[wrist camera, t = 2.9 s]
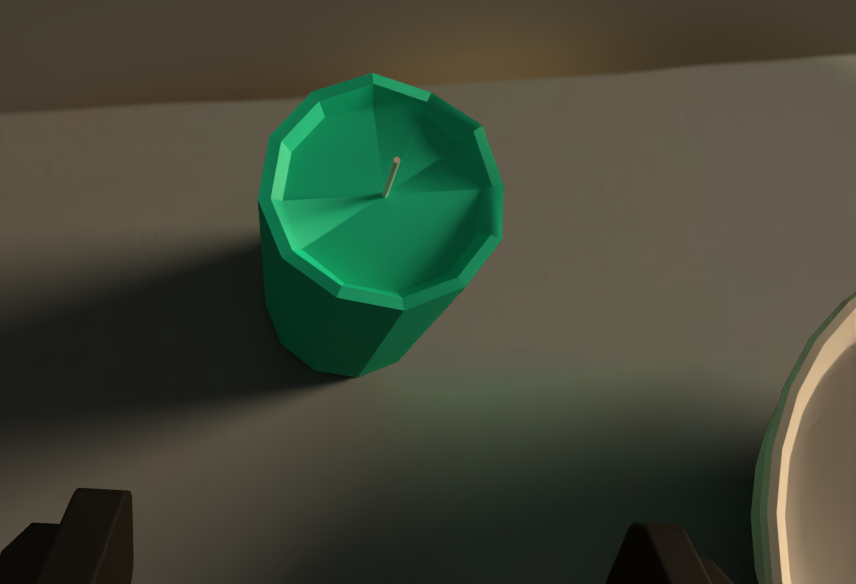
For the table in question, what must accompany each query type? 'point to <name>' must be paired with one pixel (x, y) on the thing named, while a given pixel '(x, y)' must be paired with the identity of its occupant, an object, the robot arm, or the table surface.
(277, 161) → the candle
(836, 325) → the bowl
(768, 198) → the table surface
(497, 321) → the table surface
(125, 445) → the table surface
